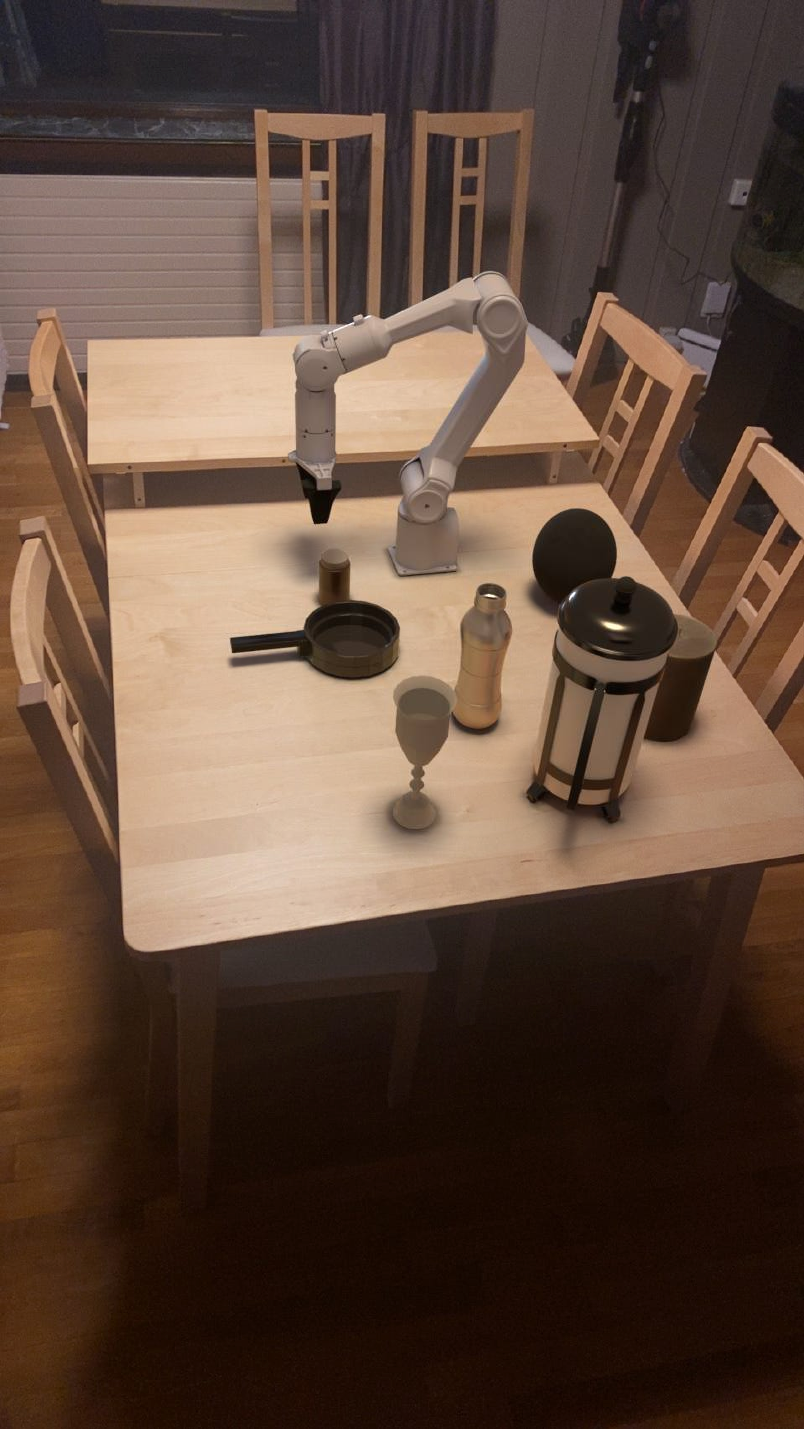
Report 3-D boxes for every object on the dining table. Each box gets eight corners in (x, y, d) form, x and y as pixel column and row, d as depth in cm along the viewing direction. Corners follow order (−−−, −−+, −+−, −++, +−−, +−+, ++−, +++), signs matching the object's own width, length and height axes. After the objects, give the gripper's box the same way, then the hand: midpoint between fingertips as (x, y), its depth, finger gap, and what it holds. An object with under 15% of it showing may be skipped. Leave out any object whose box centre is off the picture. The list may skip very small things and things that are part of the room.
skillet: (386, 618, 147) (387, 596, 144) (408, 674, 137) (409, 651, 135) (297, 627, 144) (297, 604, 142) (313, 685, 135) (313, 661, 132)
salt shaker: (346, 590, 152) (347, 546, 147) (352, 607, 149) (353, 563, 143) (316, 593, 151) (316, 548, 146) (321, 610, 148) (321, 565, 142)
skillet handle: (306, 645, 140) (306, 629, 138) (309, 656, 138) (309, 640, 136) (230, 653, 138) (229, 636, 136) (233, 664, 136) (231, 648, 134)
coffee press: (490, 758, 126) (521, 554, 106) (598, 730, 131) (648, 530, 111) (558, 858, 114) (608, 649, 94) (674, 822, 119) (745, 617, 99)
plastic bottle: (466, 741, 128) (483, 613, 115) (440, 709, 132) (453, 582, 119) (508, 727, 130) (530, 600, 117) (482, 696, 135) (500, 571, 122)
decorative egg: (622, 612, 151) (643, 526, 142) (553, 630, 147) (570, 542, 137) (577, 570, 160) (594, 485, 150) (510, 586, 155) (524, 500, 145)
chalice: (383, 791, 120) (390, 675, 108) (439, 790, 121) (452, 675, 109) (387, 837, 115) (395, 720, 103) (446, 835, 116) (460, 719, 104)
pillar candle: (685, 749, 129) (715, 658, 119) (611, 729, 131) (634, 637, 121) (696, 704, 136) (725, 614, 126) (625, 686, 138) (648, 596, 128)
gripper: (280, 404, 146) (282, 488, 155) (295, 450, 136) (297, 536, 145) (327, 402, 148) (327, 485, 157) (346, 447, 137) (345, 533, 146)
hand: (315, 509), depth 151 cm, fingers open, 7 cm apart
